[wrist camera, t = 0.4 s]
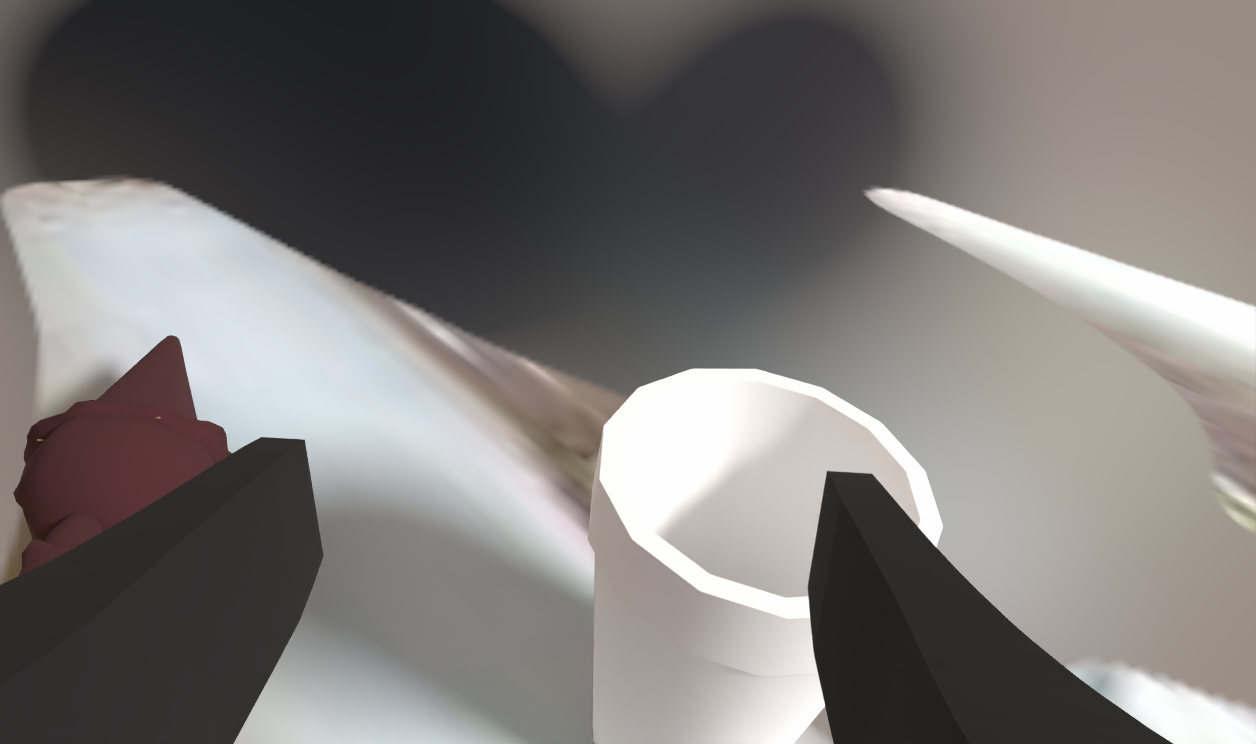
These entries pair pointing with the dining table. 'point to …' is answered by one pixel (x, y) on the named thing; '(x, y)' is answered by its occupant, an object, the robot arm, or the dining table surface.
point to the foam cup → (721, 552)
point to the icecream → (113, 455)
